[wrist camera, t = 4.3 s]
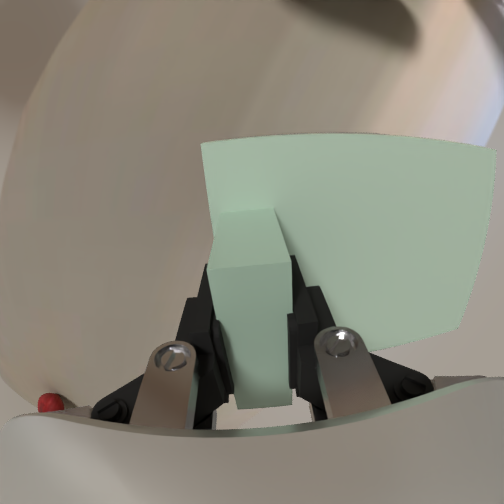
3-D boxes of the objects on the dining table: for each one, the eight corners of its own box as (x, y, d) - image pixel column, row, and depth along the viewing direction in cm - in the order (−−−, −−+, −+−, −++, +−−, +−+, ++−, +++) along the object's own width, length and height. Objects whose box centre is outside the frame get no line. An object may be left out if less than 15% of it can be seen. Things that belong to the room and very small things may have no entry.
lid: (470, 143, 11) (558, 171, 5) (442, 309, 16) (490, 373, 10) (208, 141, 11) (169, 157, 5) (237, 342, 16) (236, 439, 10)
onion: (41, 382, 38) (26, 411, 31) (61, 387, 38) (46, 419, 31) (54, 400, 40) (41, 428, 33) (74, 405, 40) (61, 435, 33)
